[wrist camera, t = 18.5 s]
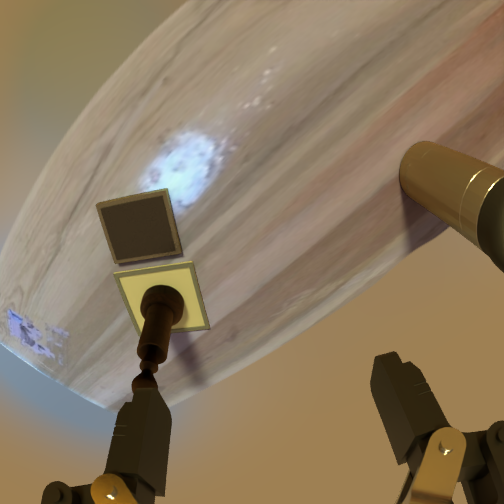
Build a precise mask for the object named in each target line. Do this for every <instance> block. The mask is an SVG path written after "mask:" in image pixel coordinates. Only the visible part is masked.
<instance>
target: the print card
mask: <svg viewBox="0 0 504 504" xmlns="http://www.w3.org/2000/svg"><path fill="white" fill-rule="evenodd" d="M113 275H114V278H115V280H116V283H117V285H118V288H119V291H120V293H121V296H122V298H123V301H124V303H125V305H126V308H127V310H128V313H129V315H130V317H131V320H132V322H133V324H134V327H135V329H136V331H137V333H138V336H141V333H142V329H143V325H144V321H145V319H144V318H143V317H142V315H141V312H140V304H141V301H142V297H143V295H144V293H145V291H146V290H147V289H148V288H150V287H152V286H155V285H168V286H171V287H173V288H175V289H176V290H177V291H179V293H180V294H181V295H182V297H183V299H184V310H183V316H182V318H181V320H180V321H179V322H178V323H177V324H176V325H174V326H172V328H171V333H177V332H186V331H195V330H203V329H210V325H209V322H208V318H207V315H206V311H205V307H204V303H203V300H202V296H201V292H200V288H199V284H198V281H197V277H196V273H195V269H194V265H193V261H189V262H182V263H175V264H169V265H162V266H155V267H149V268H142V269H135V270H129V271H122V272H115V273H114V274H113Z"/></svg>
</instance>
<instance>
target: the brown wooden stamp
mask: <svg viewBox="0 0 504 504" xmlns="http://www.w3.org/2000/svg"><path fill="white" fill-rule="evenodd" d="M183 310H184V299H183V297H182V295H181V294H180V293H179V291H177V290H176V289H175V288H173V287H171V286H168V285H155V286H152V287H150V288H148V289H147V290H146V291H145V293H144V295H143V297H142V301H141V304H140V312H141V315H142V317H143V318H144V319H145V321H144V325H143V329H142V333H141V336H140V340H139V344H138V347H137V354H138V356H139V357H140V358H141V359H142V361H141V363H140V369H141V370H142V372H141V373H140V374H139V375H138V376H136V377H135V378H134V380H133V381H132V391H133V393H134V391H135V390H136V389H137V388H157V390H158V385H157V382H156V380H155V378H154V376H153V374H154V373H156V372H157V371H158V364H161V363H163V362H164V361H165V360H166V359H167V353H168V346H169V340H170V334H171V328H172V326H174V325H176V324H177V323H178V322H179V321H180V320H181V318H182V316H183Z"/></svg>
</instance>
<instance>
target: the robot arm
mask: <svg viewBox="0 0 504 504" xmlns="http://www.w3.org/2000/svg"><path fill="white" fill-rule="evenodd" d="M399 175H400V182H401V186H402V188H403V190H404V192H405V193H406V194H407V196H409V197H410V198H411V199H413V200H414V201H416V202H417V203H419V204H420V205H422V206H423V207H424V208H426V209H427V210H429V211H430V212H431V213H433V214H434V215H436V216H437V217H438V218H440V219H441V220H442V221H444V222H445V223H447V224H448V225H449V226H451V227H452V228H453V229H455V230H456V231H457V232H459V233H460V234H461V235H462V236H464V237H465V238H466V239H468V240H469V241H471V242H472V243H473V244H474V245H476V246H477V247H478V248H479V249H480V250H482V251H483V252H484V253H485V254H487V255H488V256H489V257H490V258H491V260H492V261H493V262H494V264H495V265H496V266H497V267H498V268H499V269H500V270H501V271H502V272H503V273H504V170H502V169H500V168H497V167H495V166H493V165H490V164H488V163H486V162H483V161H481V160H478V159H476V158H473V157H471V156H468V155H466V154H463V153H461V152H458V151H455V150H453V149H450V148H447V147H445V146H442V145H439V144H436V143H433V142H429V141H423V142H419V143H417V144H415V145H413V146H412V147H411V148H410V149H409V150H408V151H407V152H406V154H405V155H404V157H403V159H402V162H401V166H400V173H399ZM370 385H371V392H372V396H373V398H374V401H375V404H376V406H377V409H378V411H379V414H380V417H381V419H382V422H383V424H384V427H385V430H386V432H387V435H388V438H389V441H390V443H391V446H392V449H393V452H394V454H395V457H396V460H397V463H398V465H401V464H403V463H406V462H407V463H408V466H409V471H408V474H407V476H406V479H405V481H404V484H403V486H402V488H401V491H400V493H399V495H398V497H397V500H396V502H395V504H454V503H453V501H452V496H453V492H454V489H455V486H456V483H457V482H461V484H462V486H463V490H464V493H465V496H466V499H467V502H468V504H504V421H498V422H495V423H494V424H493V425H491V427H490V428H489V429H488V430H485V431H478V432H470V433H464V432H460V431H459V430H457V429H455V428H453V427H451V426H450V425H449V423H448V421H447V420H446V418H445V416H444V414H443V412H442V410H441V408H440V406H439V404H438V402H437V400H436V398H435V397H434V394H433V392H431V389H430V387H429V385H428V383H426V379H425V378H424V376H423V374H422V372H421V370H420V369H419V368H417V367H416V366H415V365H413V363H411V362H410V361H409V362H406V363H402V361H401V359H400V358H399V356H398V354H397V353H396V352H394V351H393V352H390V353H386V354H382V355H378V356H376V357H375V359H374V364H373V370H372V376H371V381H370ZM115 425H116V427H115V428H114V432H113V435H114V436H112V440H111V445H110V450H109V454H108V459H107V463H106V468H105V471H104V473H103V475H101V476H99V477H97V478H96V479H95V480H94V482H93V483H92V484H88V485H82V486H75V487H69V486H68V485H66V484H65V483H63V482H60V481H55V482H52V483H50V484H49V485H47V486H46V488H45V490H44V492H43V496H42V501H41V504H154V502H155V496H164V497H165V486H166V474H167V464H168V453H169V444H170V435H171V426H172V418H171V414H170V410H169V408H168V407H167V405H166V403H165V402H164V400H163V398H162V396H161V395H160V393H159V391H158V390H157V388H137V389H136V390H135V391H134V395H133V399H132V402H125V404H124V405H123V406H122V408H121V409H120V411H119V412H118V415H117V420H116V423H115Z"/></svg>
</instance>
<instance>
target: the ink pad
mask: <svg viewBox="0 0 504 504" xmlns="http://www.w3.org/2000/svg"><path fill="white" fill-rule="evenodd" d="M96 208H97V211H98V214H99V218H100V221H101V224H102V227H103V230H104V233H105V237H106V240H107V243H108V246H109V249H110V251H111V254H112V257H113V260H114V263H115V264H118V263H124V262H130V261H137V260H143V259H149V258H156V257H162V256H169V255H175V254H181V252H182V248H181V244H180V240H179V236H178V232H177V228H176V224H175V220H174V216H173V211H172V207H171V203H170V198H169V194H168V189H167V188H165V189H160V190H155V191H150V192H145V193H140V194H135V195H130V196H126V197H121V198H117V199H112V200H108V201H103V202H99V203H97V204H96Z"/></svg>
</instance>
